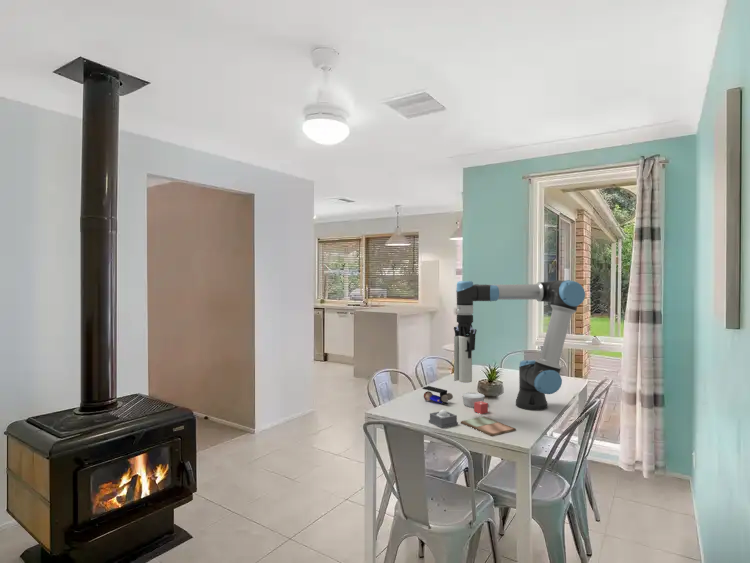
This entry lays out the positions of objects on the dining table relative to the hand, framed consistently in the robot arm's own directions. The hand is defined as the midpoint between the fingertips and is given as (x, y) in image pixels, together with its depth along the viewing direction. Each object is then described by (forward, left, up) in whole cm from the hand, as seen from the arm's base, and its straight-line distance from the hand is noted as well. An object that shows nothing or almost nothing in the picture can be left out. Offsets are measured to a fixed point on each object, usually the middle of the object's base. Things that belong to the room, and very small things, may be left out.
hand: (465, 364), depth 210 cm
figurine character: (-3, -25, -25) cm, 35 cm away
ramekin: (-16, -12, -25) cm, 32 cm away
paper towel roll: (0, -1, -8) cm, 8 cm away
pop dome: (+15, +3, -23) cm, 28 cm away
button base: (+15, +3, -24) cm, 29 cm away
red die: (-11, -1, -24) cm, 27 cm away
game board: (+1, +16, -24) cm, 29 cm away
